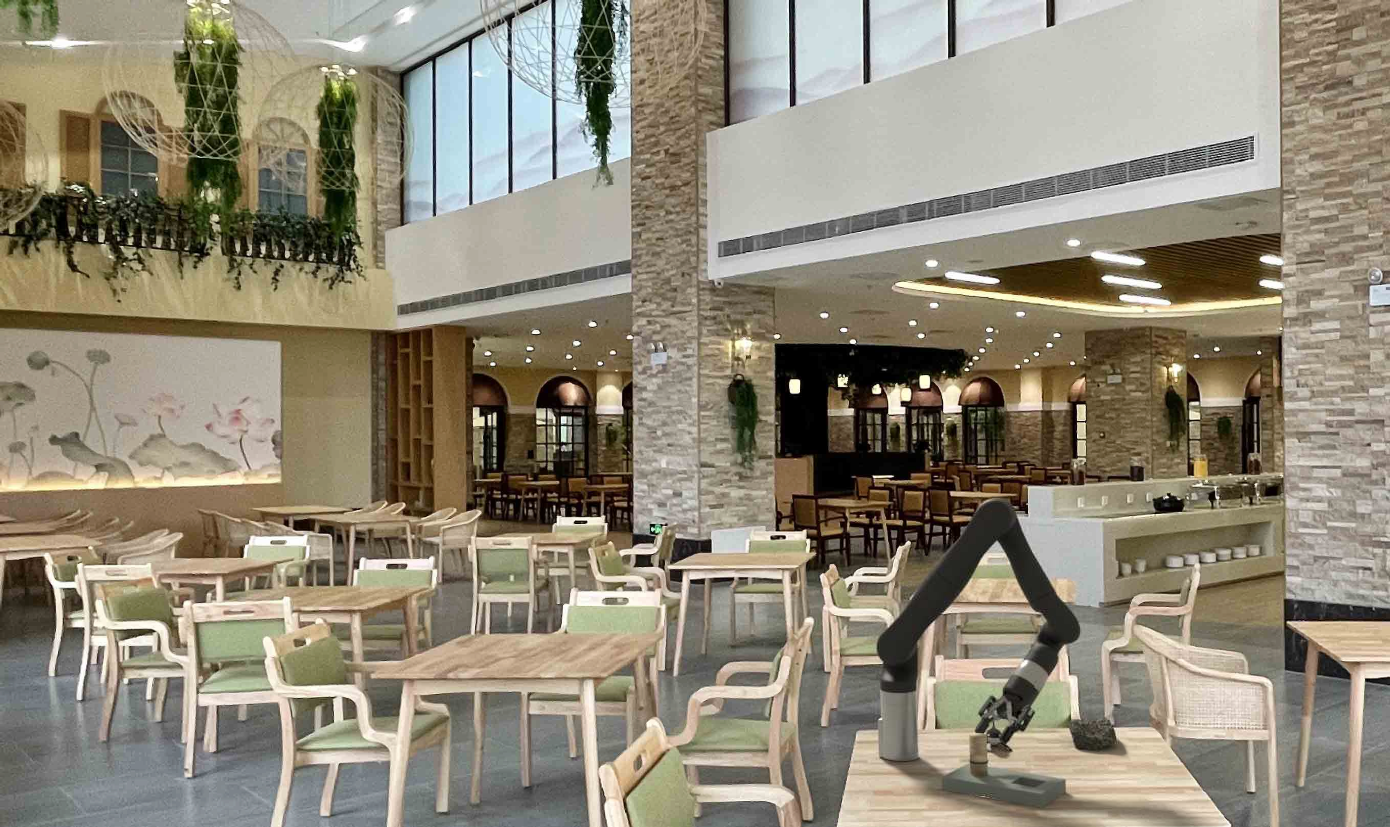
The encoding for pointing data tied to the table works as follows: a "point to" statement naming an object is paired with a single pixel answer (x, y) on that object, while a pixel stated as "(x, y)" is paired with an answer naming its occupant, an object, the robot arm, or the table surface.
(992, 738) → the toy
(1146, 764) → the table surface
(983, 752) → the peg
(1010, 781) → the board
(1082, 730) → the rock
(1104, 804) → the table surface
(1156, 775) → the table surface
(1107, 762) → the table surface
